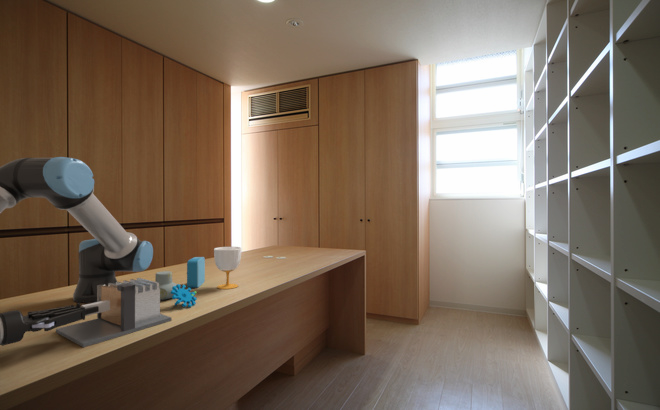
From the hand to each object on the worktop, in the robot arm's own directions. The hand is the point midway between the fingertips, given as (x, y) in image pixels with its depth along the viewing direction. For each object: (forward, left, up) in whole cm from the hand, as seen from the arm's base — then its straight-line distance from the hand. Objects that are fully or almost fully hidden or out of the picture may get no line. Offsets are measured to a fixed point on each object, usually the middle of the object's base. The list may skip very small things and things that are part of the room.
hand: (108, 305), depth 99 cm
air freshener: (-18, +28, -7) cm, 34 cm away
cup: (-12, +54, -7) cm, 56 cm away
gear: (-3, +27, -7) cm, 28 cm away
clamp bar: (-2, +2, -6) cm, 6 cm away
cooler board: (-1, +3, -7) cm, 8 cm away
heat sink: (-1, +8, -7) cm, 11 cm away
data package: (-26, +48, -7) cm, 55 cm away
